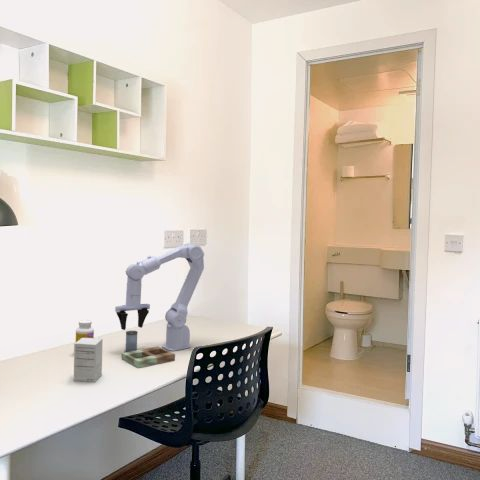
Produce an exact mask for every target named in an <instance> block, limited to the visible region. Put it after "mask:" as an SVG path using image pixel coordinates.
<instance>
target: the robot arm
mask: <svg viewBox="0 0 480 480" xmlns="http://www.w3.org/2000/svg"><path fill="white" fill-rule="evenodd" d="M204 256H205V252H204V250H203V248H202V247H201V246H200V245H198V244H193V243H190V242H189V243H185V244H183V245H179V246H177V247H176V248H174V249H171V250H169V251H167V252H165V253H164V254H161V255H158V256H155V255H152V256H151V255H148V256H147V258H146V259H144V260H140V261H139V260H138V261H136V264H134V263H132V264H129V265H128V266H127V268H126V270H125V274H126V276H127V277H126V278H127V279H126V281H127V282H126V291H125V292H126V295H125V304H124V305H118V306H115V308H114V309H115V311H114V312H115V313H116V315H117V317H118V320H119V323H120V328H121V330H123V331H125V330H126V329H127V319H128V315H129V313H127V312H128V311H129V312H130V311H137V327H139V328H143V326H144V323H145V320H146V317H147V316H148V314H149V313H150V308H151V307H150V306H151V304H149V303H142V302H141V298H142V279H143V278H144V276H146V275H148V274H150V273H153V272H155V271H157V270H160V267H161V265H163V264H165V263H168V262H171V261H173V260H175V259H179V258H180V259H185V260H186V261H187V263H188V265H189V269H188V273H187V275H186V277H185V279H184V282H183V284H182V286H181V289H180V292H179V293H178V296H177V298H176V300H175V302H174V303H172V304H171V306H170V308H169V309H168V310H167V311H165V312H166V313H165V317H164V318H165V321H166V322H167V323H166V331H165V332H166V335H165V337H166V338H165V344H162V345H161V348H163V349H165V350H166V349H167V351H170V352H175V351H179V350H184V349H185V350H186V349H189V348H191V346H190V338H191V337H190V336H191V333H190V331H191V330H190V328H189V327H188V325H186V323H187V316H188V313H189V312H188V311H189V310H188V305H189V304H190V302H191V299H192V297H193V294H194V292H195V290H196V287H197V285H198V283H199V281H200V279H201V276H202V274H203V272H204V269H205V262H204Z"/></svg>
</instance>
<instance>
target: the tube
mask: <svg viewBox="0 0 480 480" xmlns="http://www.w3.org/2000/svg"><path fill="white" fill-rule="evenodd" d="M138 333H139V331H137V330H126V331H125V352H131V351H136V350H138Z"/></svg>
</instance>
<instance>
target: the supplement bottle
mask: <svg viewBox="0 0 480 480" xmlns="http://www.w3.org/2000/svg"><path fill="white" fill-rule="evenodd" d="M94 331H95V330H94V328H93V327H92V320H88V319H85V320H84V319H83V320H79V321H78V327H77V328H76V330H75V343H76V342H77V341H79V340H80V339H81V338H94V335H95V332H94Z"/></svg>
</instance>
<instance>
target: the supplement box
mask: <svg viewBox="0 0 480 480" xmlns="http://www.w3.org/2000/svg"><path fill="white" fill-rule="evenodd" d="M73 348H74V349H73V381H74V382H75V381H76V382H89V383H90V382H91V383H96V381H97V380H98V379H99V378H100V377H101V376H102V372H103V371H102V369H103V338H96V337H95V338H81V339H80V340H79V341H77V342H76V341H75V342H74V347H73Z"/></svg>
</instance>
